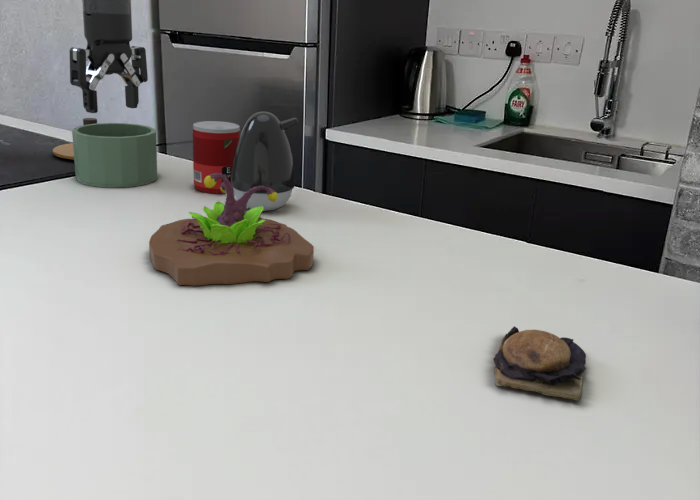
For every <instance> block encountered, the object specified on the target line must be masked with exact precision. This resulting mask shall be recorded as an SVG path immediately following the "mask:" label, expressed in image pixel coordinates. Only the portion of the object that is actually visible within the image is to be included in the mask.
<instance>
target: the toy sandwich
mask: <svg viewBox="0 0 700 500" xmlns="http://www.w3.org/2000/svg"><path fill="white" fill-rule="evenodd" d="M492 361H493V364H494V369H493V371H494V383H495V386H496V387H497V386H498V387H503V388H506V387H510V388H512V389H517V390H522V391H528V392H535V393H539V394H542V395H545V396H549V397H550V396H551V397H556V398H557V397H558V398H562V399H568V400H571V401H575V402H579V401H580V400H581V397H582V391H583V387H584V386H583V373H584V372H585V371H586V368H587V367H586V362H587V354H586V352H585V351H584V349H583V348H581V346H579V345H578V343H576V342H574V338H570V337H559V336H557V335H556V334H554V333H551V332H549V331H545V330H541V329H524V330H521V331H520V330H519V328H518V327H516V326H512V327H511V328H510V330H509V331H508V332H507V333H505V335H504V336H503V337H502V339H501V342H500V344H499V348H498V349H497V353H496V354H495V355H494V357H493V359H492Z"/></svg>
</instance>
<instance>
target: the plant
mask: <svg viewBox="0 0 700 500" xmlns="http://www.w3.org/2000/svg"><path fill="white" fill-rule="evenodd" d="M218 179H222V180H223V181H224V182H223V183H222V184H221V185H220V189H221V191H222V192H224V193H223V194H226V195H225V197H226V198H225V202H224V203H222V202H220V201H215V202H214V204H213V206H212V207H213V209H211V208H210V207H207V206H202V210H203V212H204V214H205V215H206V216H203V215H202V214H200V213H198V212H190V211H188V215H189V216H191V218H184V219H178V220H176V221H173V222H170V223H169V222H168V223H166V224H162V225H160V227H159V228H158V229H157V230H156V231H155V232H154V233H153V234H152V235H151V236H150V239H149V241H148V250H149V252H148V253H149V258H150V260H151V263H152V266H153V268H154V269H155V270H156V271H160V272H162V273H166V274H168V275H169V276H170V277H171V278H172V279H174V281H175V282H176V284H177V285H178V286H197V287H198V286H206V285H237V284H243V283H244V284H245V283H250V282H262V283H269V282H271V281H273V280H289V279H290V278H292V277H293V275H294V273H295V272H296V271H309V270H311V268H312V267H313V265H314V256H315V255H314V254H315V248H314V245H313V244H312V243H310V241H308V240H307V239H306V238H305V237H303V236H302V235H301V234H300V233H299V232H298V231H296V230H295V229H294V228H292V227H290V226H288V225H287V224H285V223H281V222H278V221H276V220H273V219H270V218H263V217H260V216H261V214H262V213H263V212H264V211H263V209H264V207H263V206H259V207H255V208H252V209H249V210H247V207H246V206H247V202H248V200H249V198H251V195H252V194H253V193H254V192H256V191H258V190H259V191H260V190H262V189H263V190H266V191H267V196H268V199H269V200H270V201H272V202H274V201H276V200H277V198H278V196H277V193H276V192H275V191H274V190H272V189H270V188H268V187H266V186H263V185H262V186H257V187H253V188H252V189H249V190H248V191H246V193H244V195H243V196H242V197H241V198H240V199H239V200H237V199H236V197H235V194H234V192H233V191H234V189H233V187H232V186H231V183H230V182H229V180H228V179H227V177H226V176H224V175H223V174H219V173H213V174H211V175H210V174H209V176H207V177H206V178H205V179H204V184H205V186H206V187H209V188H211V187H213V186H215V184H216V182H217V180H218Z"/></svg>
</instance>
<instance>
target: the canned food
mask: <svg viewBox="0 0 700 500" xmlns="http://www.w3.org/2000/svg"><path fill="white" fill-rule="evenodd" d="M240 127H241V126H240V125H239V124H237V123H234V122H229V121H221V120H220V121H219V120H205V121H204V120H203V121H196V122H194V123H193V124H192V167H193V169H192V171H193V172H192V173H193V175H192V176H193V185H194V188H195V189H196V191H198V192H201V193H207V194H220V195H221V194H225V193H224V192H222V191H221V189H220V185H221V184H222V183H223V182H224V181H223V180H222V179H218V180H217V182H216V184H215V186H213V187H211V188H209V187H206V186H205V184H204V179H205V178H206V177H207V176H209V174H210V175H211V174H213V173H219V174H223V175H224V176H226V177H227V179H228V180H229V182H230V178H231V169H232V162H233V157H234V152H235V149H236V145H237V142H238V140H239V137H240V134H241V129H240ZM233 192H234V191H233Z"/></svg>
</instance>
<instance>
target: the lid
mask: <svg viewBox="0 0 700 500" xmlns="http://www.w3.org/2000/svg"><path fill="white" fill-rule="evenodd" d="M97 123H98V119H97V118H95V117H84V118H82V125H89V124H97ZM52 154H53V155H54V156H56V157H57V158H62V159H65V160H66V159H67V160H72V161H74V149H73V142H70V143H64V144H60V145H57V146H55V147H53V149H52Z"/></svg>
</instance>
